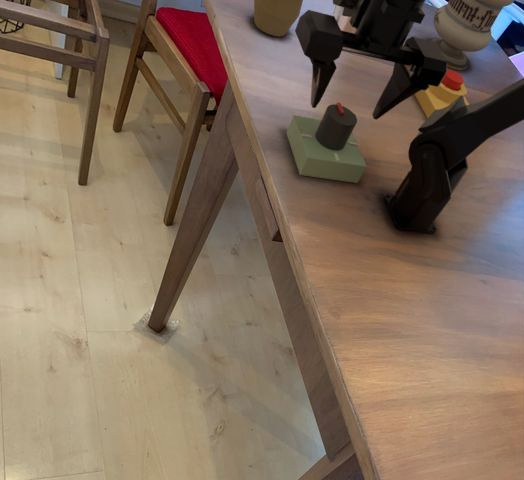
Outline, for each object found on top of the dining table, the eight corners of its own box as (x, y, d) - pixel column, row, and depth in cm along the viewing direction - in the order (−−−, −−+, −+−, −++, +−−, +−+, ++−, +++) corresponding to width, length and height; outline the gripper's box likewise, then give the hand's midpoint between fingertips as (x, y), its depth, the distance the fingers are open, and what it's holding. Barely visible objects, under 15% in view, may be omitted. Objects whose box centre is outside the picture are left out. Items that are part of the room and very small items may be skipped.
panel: (357, 183, 79) (367, 165, 76) (299, 175, 76) (308, 156, 73) (341, 142, 83) (350, 124, 81) (285, 133, 80) (293, 113, 78)
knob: (348, 152, 77) (362, 125, 73) (319, 147, 75) (332, 120, 72) (340, 132, 79) (353, 105, 76) (312, 127, 77) (324, 99, 74)
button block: (470, 128, 99) (484, 108, 96) (428, 120, 96) (441, 99, 93) (446, 88, 105) (458, 68, 102) (406, 79, 102) (417, 58, 99)
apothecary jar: (408, 41, 112) (461, -59, 98) (440, 35, 119) (493, -59, 105) (452, 77, 109) (513, -21, 95) (481, 69, 116) (542, -24, 102)
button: (461, 93, 98) (467, 84, 96) (444, 89, 96) (450, 80, 95) (453, 81, 99) (459, 72, 98) (437, 77, 98) (442, 68, 97)
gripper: (446, -27, 69) (386, 88, 81) (310, -70, 62) (266, 63, 74) (481, 20, 63) (410, 137, 75) (335, -21, 57) (283, 114, 69)
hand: (344, 111), depth 74 cm, fingers open, 9 cm apart
